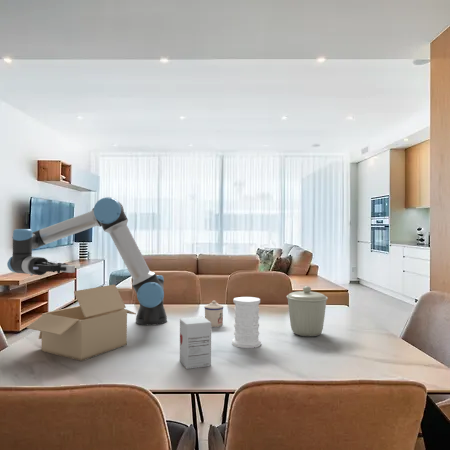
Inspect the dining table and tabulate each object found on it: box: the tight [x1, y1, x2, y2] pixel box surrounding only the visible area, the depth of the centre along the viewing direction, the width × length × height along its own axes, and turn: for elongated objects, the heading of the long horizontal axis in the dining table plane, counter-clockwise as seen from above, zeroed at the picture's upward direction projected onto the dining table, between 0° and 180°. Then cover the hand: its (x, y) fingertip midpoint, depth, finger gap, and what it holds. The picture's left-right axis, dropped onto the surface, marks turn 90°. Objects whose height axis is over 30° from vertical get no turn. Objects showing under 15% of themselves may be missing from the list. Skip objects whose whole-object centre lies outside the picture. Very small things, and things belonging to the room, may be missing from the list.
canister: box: [286, 285, 329, 337], centre depth 170 cm, size 18×18×21 cm
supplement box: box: [179, 316, 212, 370], centre depth 132 cm, size 9×9×15 cm
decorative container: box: [231, 296, 262, 349], centre depth 155 cm, size 12×12×18 cm
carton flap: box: [73, 284, 127, 318], centre depth 144 cm, size 1×20×10 cm
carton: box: [26, 305, 137, 362], centre depth 149 cm, size 26×37×14 cm
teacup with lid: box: [204, 300, 224, 328], centre depth 186 cm, size 12×9×12 cm
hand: (73, 269), depth 152 cm, fingers closed
